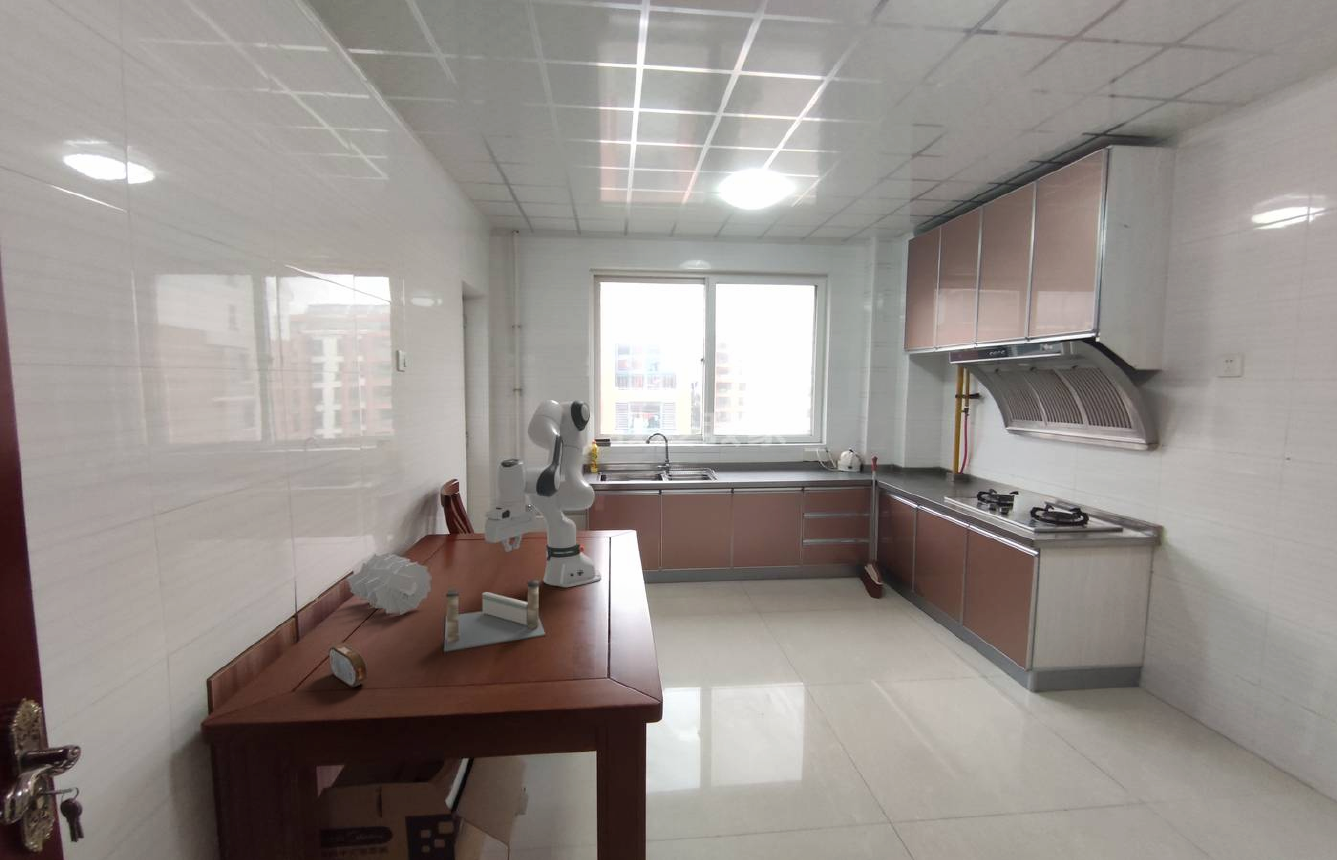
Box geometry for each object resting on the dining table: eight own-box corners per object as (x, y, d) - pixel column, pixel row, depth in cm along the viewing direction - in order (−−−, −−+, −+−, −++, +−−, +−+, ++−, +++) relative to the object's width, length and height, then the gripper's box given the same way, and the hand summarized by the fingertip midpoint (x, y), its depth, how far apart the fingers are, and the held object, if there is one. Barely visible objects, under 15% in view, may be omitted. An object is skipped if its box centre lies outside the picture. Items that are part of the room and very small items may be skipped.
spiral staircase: (385, 606, 184) (425, 620, 170) (336, 599, 170) (375, 613, 157) (405, 555, 190) (444, 564, 176) (359, 545, 177) (398, 554, 163)
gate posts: (538, 625, 161) (538, 579, 160) (539, 630, 158) (539, 583, 157) (446, 639, 151) (446, 590, 150) (446, 644, 148) (445, 594, 147)
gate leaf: (530, 623, 160) (530, 602, 160) (526, 625, 159) (526, 604, 158) (486, 610, 169) (486, 591, 169) (482, 612, 168) (482, 593, 167)
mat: (534, 605, 176) (534, 604, 176) (545, 635, 154) (545, 633, 154) (445, 617, 166) (445, 616, 166) (444, 651, 144) (444, 650, 143)
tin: (368, 687, 126) (367, 654, 125) (354, 693, 123) (354, 659, 122) (340, 669, 134) (339, 637, 134) (326, 674, 131) (326, 642, 131)
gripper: (526, 502, 180) (527, 540, 181) (481, 513, 162) (481, 556, 163) (540, 504, 177) (540, 543, 178) (495, 515, 159) (496, 559, 160)
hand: (512, 549), depth 170 cm, fingers open, 2 cm apart
